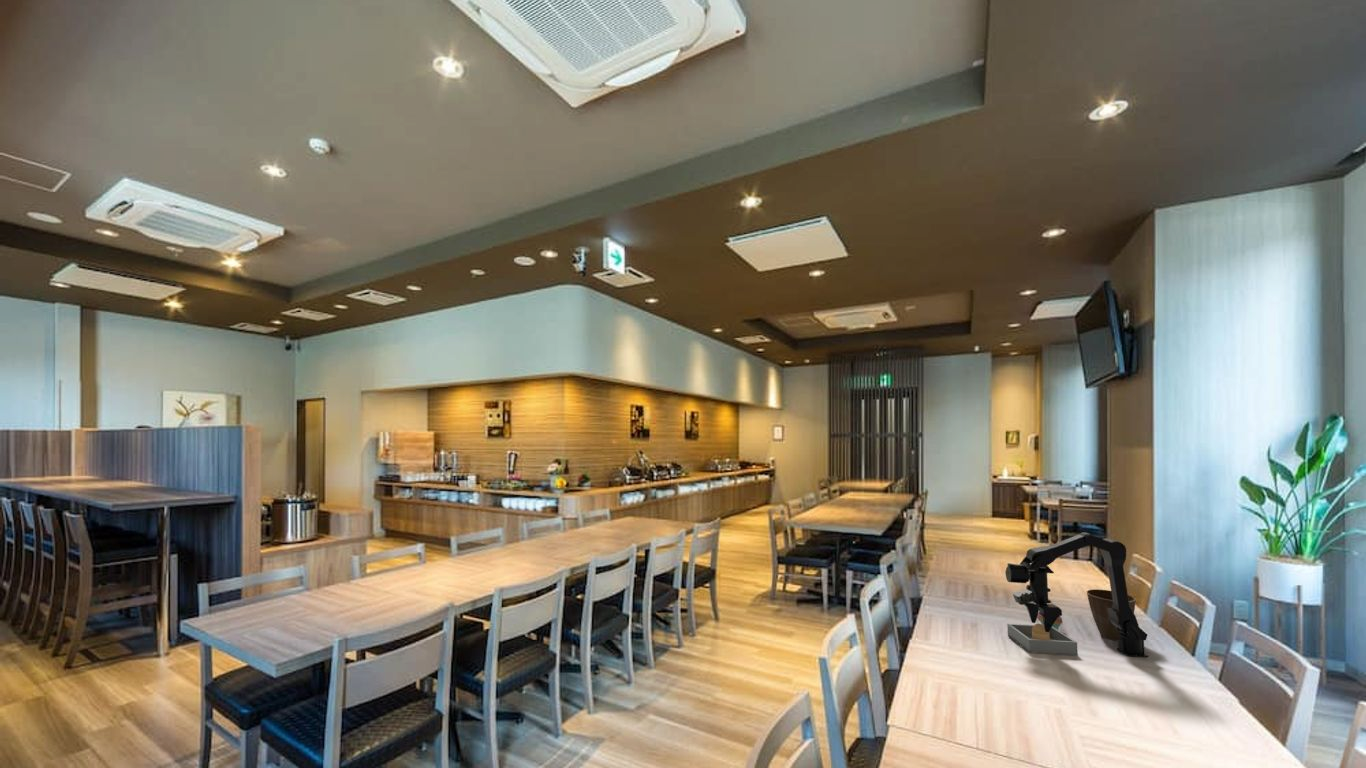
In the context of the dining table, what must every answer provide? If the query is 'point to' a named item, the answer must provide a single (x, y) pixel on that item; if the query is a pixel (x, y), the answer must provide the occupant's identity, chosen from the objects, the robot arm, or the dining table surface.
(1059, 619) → the cupcake
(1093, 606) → the plant pot
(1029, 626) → the bin
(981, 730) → the dining table surface
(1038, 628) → the tan oval piece
